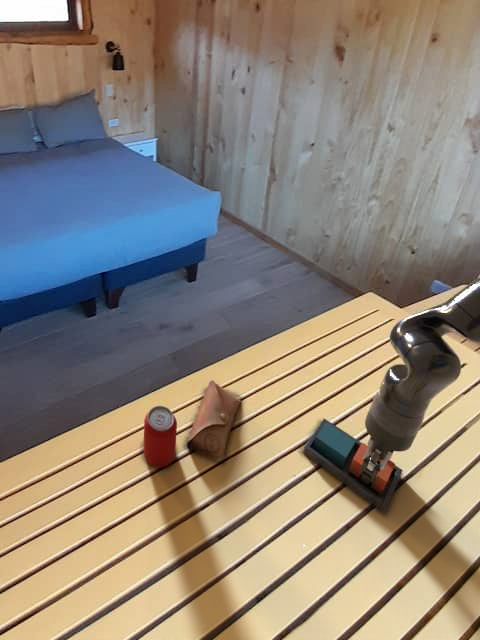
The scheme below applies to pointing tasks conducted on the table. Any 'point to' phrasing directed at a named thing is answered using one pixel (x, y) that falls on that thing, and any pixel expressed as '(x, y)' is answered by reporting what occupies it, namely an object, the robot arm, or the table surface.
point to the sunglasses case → (213, 422)
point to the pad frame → (351, 479)
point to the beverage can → (160, 436)
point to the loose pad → (382, 474)
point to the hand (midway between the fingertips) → (370, 471)
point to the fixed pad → (334, 445)
